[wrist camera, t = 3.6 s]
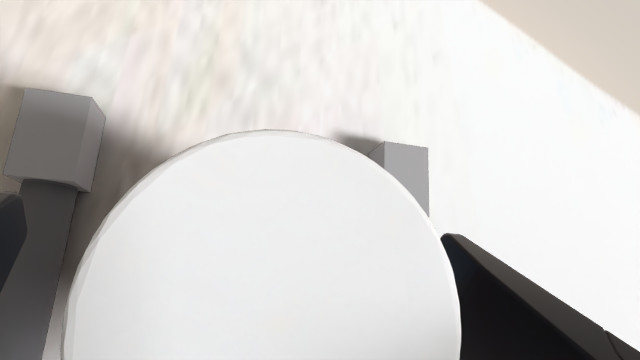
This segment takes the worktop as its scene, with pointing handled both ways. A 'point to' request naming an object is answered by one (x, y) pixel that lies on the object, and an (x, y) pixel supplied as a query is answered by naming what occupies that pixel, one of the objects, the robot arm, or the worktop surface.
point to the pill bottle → (264, 261)
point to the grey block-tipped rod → (406, 168)
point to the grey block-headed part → (45, 208)
